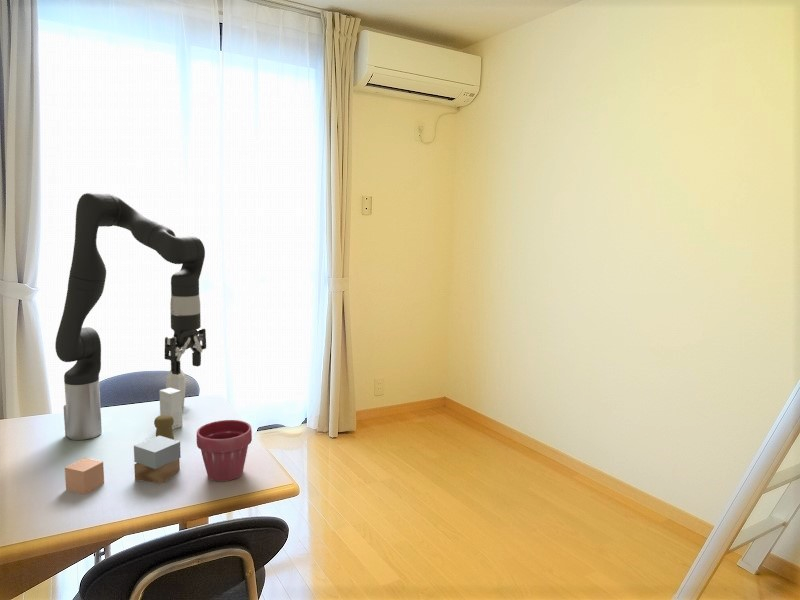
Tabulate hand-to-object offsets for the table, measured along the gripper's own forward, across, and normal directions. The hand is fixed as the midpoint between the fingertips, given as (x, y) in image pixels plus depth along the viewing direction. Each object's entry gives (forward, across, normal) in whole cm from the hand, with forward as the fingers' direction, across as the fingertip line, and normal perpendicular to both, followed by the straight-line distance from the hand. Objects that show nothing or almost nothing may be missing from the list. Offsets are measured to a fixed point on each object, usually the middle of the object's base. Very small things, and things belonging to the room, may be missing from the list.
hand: (186, 369), depth 156 cm
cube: (+27, +21, -15) cm, 37 cm away
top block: (+22, +9, -2) cm, 24 cm away
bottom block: (+27, +9, -2) cm, 29 cm away
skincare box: (+27, -20, -22) cm, 40 cm away
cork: (+27, -3, -10) cm, 29 cm away
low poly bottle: (+27, -36, -32) cm, 55 cm away
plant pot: (+27, +2, +14) cm, 30 cm away
